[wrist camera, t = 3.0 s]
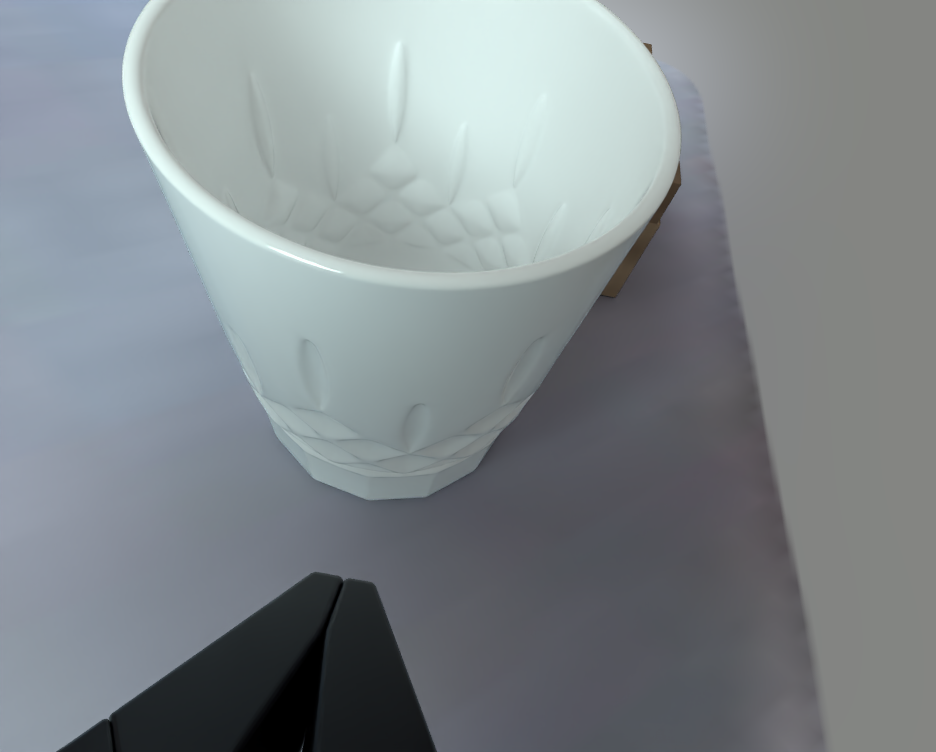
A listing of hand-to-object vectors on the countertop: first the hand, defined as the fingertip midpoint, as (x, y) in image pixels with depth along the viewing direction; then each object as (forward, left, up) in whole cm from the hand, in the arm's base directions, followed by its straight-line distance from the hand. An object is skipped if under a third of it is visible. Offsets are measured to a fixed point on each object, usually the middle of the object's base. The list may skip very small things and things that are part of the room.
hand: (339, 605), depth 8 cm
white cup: (+7, 0, -7) cm, 10 cm away
